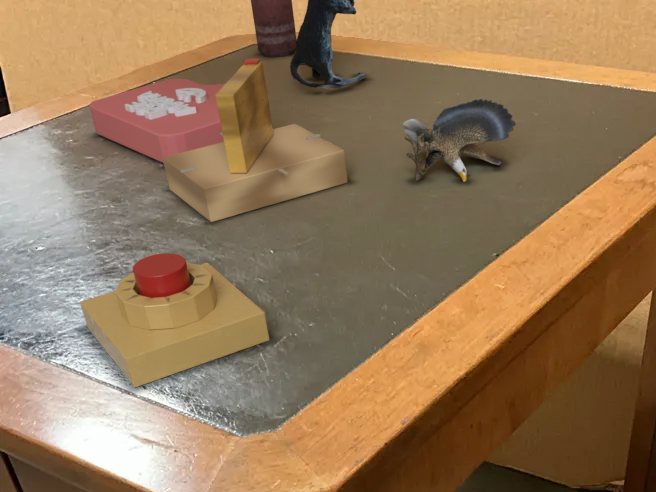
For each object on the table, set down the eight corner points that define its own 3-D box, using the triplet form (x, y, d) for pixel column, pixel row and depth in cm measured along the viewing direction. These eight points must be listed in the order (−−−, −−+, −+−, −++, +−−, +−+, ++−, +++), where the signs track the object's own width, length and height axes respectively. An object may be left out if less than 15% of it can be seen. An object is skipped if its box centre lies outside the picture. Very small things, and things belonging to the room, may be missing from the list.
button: (149, 305, 60) (143, 281, 59) (131, 286, 63) (124, 262, 61) (199, 289, 62) (193, 265, 60) (179, 271, 64) (174, 248, 63)
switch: (134, 388, 59) (118, 334, 57) (88, 329, 66) (71, 278, 63) (269, 340, 63) (260, 287, 60) (213, 288, 69) (202, 239, 67)
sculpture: (386, 86, 106) (376, -65, 96) (296, 98, 105) (277, -54, 95) (373, 68, 112) (362, -76, 102) (288, 78, 111) (269, -66, 101)
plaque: (289, 93, 93) (165, 132, 86) (295, 131, 96) (175, 172, 89) (197, 64, 103) (80, 97, 96) (204, 100, 106) (90, 134, 99)
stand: (219, 230, 78) (212, 194, 76) (160, 183, 87) (152, 150, 85) (360, 189, 83) (357, 153, 81) (290, 148, 92) (286, 116, 90)
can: (259, 48, 122) (244, -56, 114) (299, 45, 122) (286, -59, 114) (255, 58, 118) (238, -49, 110) (295, 56, 118) (282, -52, 110)
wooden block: (246, 173, 79) (232, 91, 74) (229, 173, 79) (214, 91, 75) (273, 134, 86) (262, 57, 82) (257, 134, 87) (245, 58, 82)
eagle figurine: (445, 188, 79) (529, 146, 80) (409, 108, 77) (495, 68, 79) (419, 208, 86) (496, 169, 88) (385, 136, 84) (465, 98, 86)
